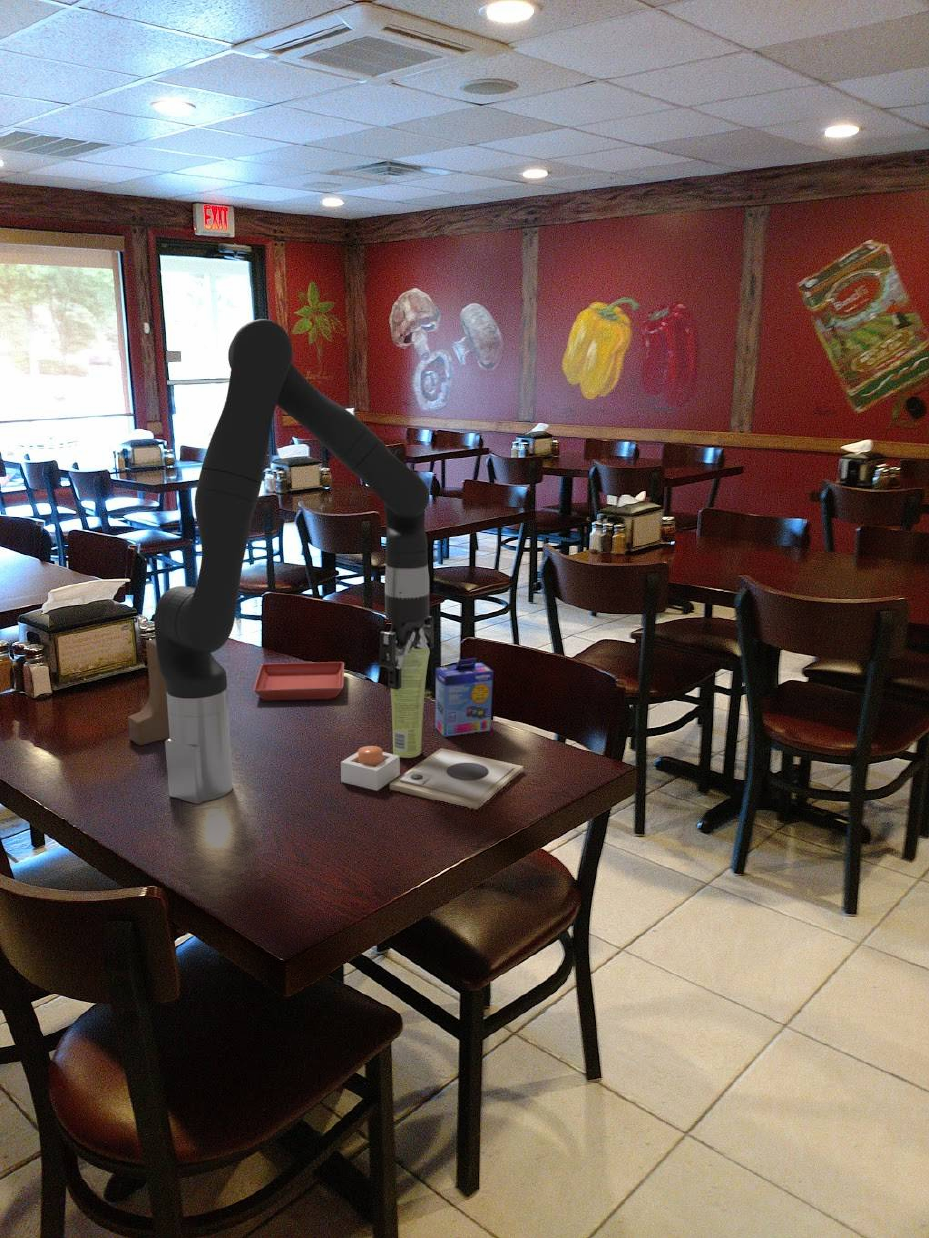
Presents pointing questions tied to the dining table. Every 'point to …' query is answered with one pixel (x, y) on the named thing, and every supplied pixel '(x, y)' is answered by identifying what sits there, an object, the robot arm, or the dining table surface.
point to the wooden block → (151, 706)
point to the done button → (370, 755)
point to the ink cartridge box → (463, 698)
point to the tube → (409, 704)
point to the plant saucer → (300, 681)
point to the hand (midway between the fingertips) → (407, 681)
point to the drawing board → (456, 778)
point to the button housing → (370, 771)
